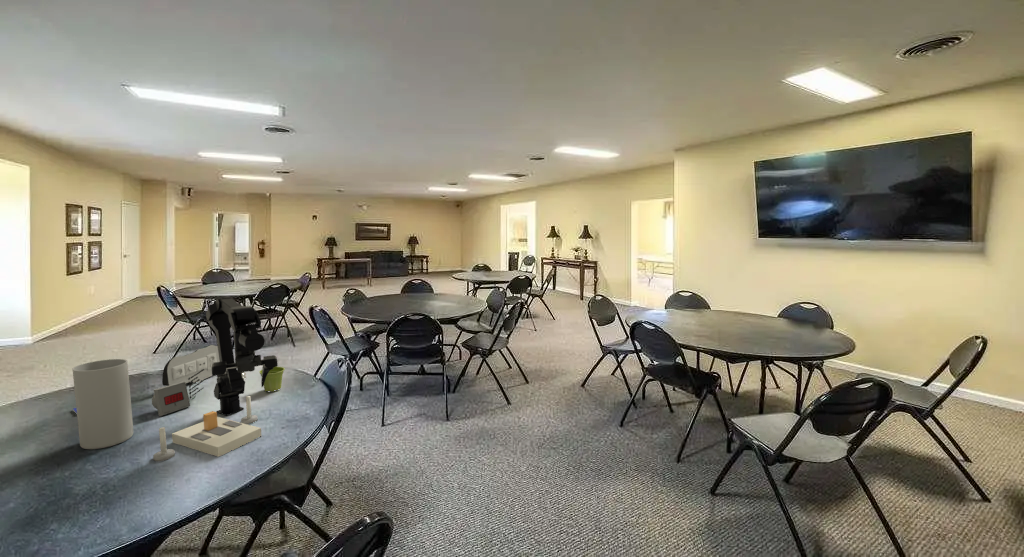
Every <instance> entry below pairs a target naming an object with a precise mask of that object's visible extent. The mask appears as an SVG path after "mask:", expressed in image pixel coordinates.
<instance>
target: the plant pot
mask: <svg viewBox="0 0 1024 557" xmlns="http://www.w3.org/2000/svg"><path fill="white" fill-rule="evenodd" d="M284 371H285V367H283V366H277V367H273V369H272V370H270V371H269V372H268V374H267V376H266V379H265V382H264V386H263V389H264V392H266V391H271V392H274V390H278V389H280V388H281V389H282V382H283V374H284ZM258 372H259V374H260V377H262V369H261V370H259V371H258ZM281 389H280V390H281ZM278 391H279V390H278Z"/></svg>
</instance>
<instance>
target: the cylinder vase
mask: <svg viewBox="0 0 1024 557" xmlns="http://www.w3.org/2000/svg"><path fill="white" fill-rule="evenodd" d="M129 377H130V376H129V365H128V360H127V359H125V358H110V359H103V360H96V361H89V362H85V363H81V364H78V365H76V366H74V367H73V368H72V378H73V388H74V397H75V406H76V407H75V408H76V409H77V415H76V417H77V428H78V436H79V437H78V438H79V446H80V447H81V448H82V449H85V450H99V449H104V448H110V447H113V446H116V445H119V444H122V443H124V442H126V441H128V440H129V439H130V438H132V436H133V435H134V425H133V412H132V411H133V410H132V401H131V399H132V398H131V389H130V388H131V386H130V378H129Z"/></svg>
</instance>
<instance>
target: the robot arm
mask: <svg viewBox="0 0 1024 557" xmlns="http://www.w3.org/2000/svg"><path fill="white" fill-rule="evenodd" d="M205 317H206V320H207V321H208V324H209V327H211V328H212V329H213V331H214V332H215V338H216V344H217V345H216V346H218V353H219V361H220V362H215V363H213V364H212V376H216V383H215V386H214V389H213V396H214V398H216V400H219V406H220V407H219V408H220V409H219V410H216V411H215V412H217V414H221V415H224V416H229V415H232V414H235V413H238V412H240V411H242V410H244V409H245V408H244V407H243V406H241V401H240V395H243V394H245V387H246V386H245V385H246V380H244V379H243V378H242V373H243V372H245V373H246V372H254V371H255V370H256V367H259V366H261V367H262V369H261V370H262V376H261V382H260V383H261V384H260V385H261V388H264V382H265V379H266V376H267V374H268V372H269V371H270V370H272V369H273V367H279V365H278V363H279V362H278V359H277V356H276V355H274V354H273V355H267V356H266V355H264V356H263V357H262V355H261V354H256V351H259V350H261V349H262V348H263V347H264V344H265V342H266V341H265V338H264V335H262V334H261V333H259V332H258V329H261V328H262V326H261V325H262V320H261V317H260V316H259V313H258V311H257V310H256V308H254V307H253V306H250V305H241V303H239V302H237V301H236V300H235V299H234V297H231V296H226V297H225V296H224V297H218V298H216V300H215V301H214V302H213V303H212V304H210V305H209V306H208V307H207V309H206V312H205ZM231 329H232V331H233V341H234V348H233V341H232V335H231ZM262 358H263V359H262Z"/></svg>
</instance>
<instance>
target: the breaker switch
mask: <svg viewBox="0 0 1024 557" xmlns="http://www.w3.org/2000/svg"><path fill="white" fill-rule="evenodd" d="M202 417H203V421H204V430H208V431H209V430H211V429H214V428H216V427H218V424H217V417H218V413H217V412H216V411H213V410H212V411H209V412H207V413H204V414H203V415H202Z"/></svg>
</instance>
